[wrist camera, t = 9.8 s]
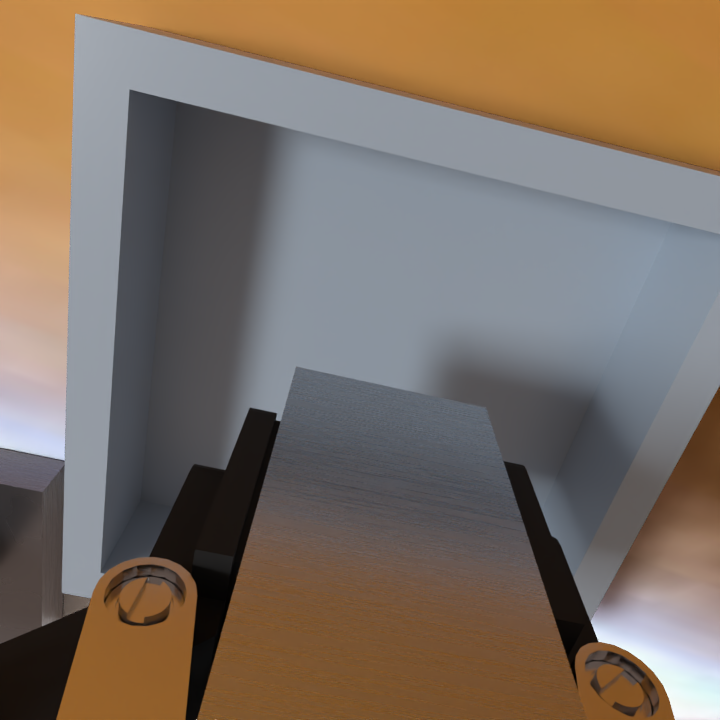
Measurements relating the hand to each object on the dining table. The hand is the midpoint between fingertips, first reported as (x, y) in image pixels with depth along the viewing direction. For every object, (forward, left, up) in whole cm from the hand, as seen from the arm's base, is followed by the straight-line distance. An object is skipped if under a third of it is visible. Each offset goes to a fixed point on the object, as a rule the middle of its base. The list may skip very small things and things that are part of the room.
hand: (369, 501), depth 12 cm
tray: (0, 0, -6) cm, 6 cm away
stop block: (0, 0, -1) cm, 1 cm away
